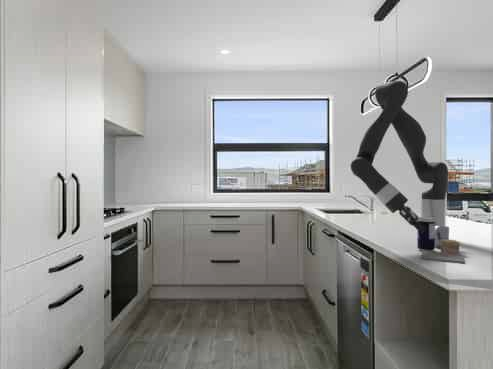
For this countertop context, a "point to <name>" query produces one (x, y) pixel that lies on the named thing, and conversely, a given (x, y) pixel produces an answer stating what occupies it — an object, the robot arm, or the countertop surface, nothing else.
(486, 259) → the countertop surface
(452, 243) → the walnut block
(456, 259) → the mat
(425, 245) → the beverage can
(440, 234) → the grey tin
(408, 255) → the countertop surface
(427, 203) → the robot arm
